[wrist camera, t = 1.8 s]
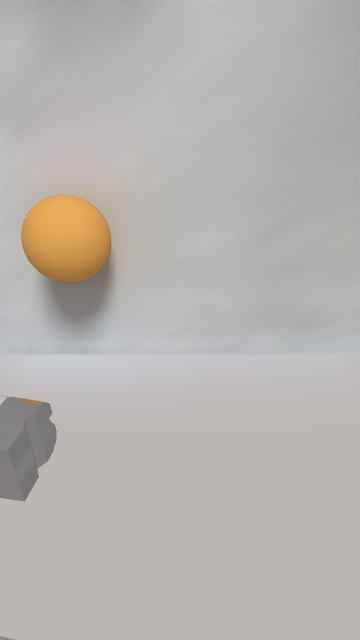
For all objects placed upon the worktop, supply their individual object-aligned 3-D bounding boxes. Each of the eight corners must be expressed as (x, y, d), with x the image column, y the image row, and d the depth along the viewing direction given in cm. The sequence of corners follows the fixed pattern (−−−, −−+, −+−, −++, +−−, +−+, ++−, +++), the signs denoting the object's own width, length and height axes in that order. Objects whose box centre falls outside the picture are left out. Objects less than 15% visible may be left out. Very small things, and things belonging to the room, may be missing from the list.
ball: (36, 236, 26) (-9, 264, 21) (63, 170, 23) (19, 184, 18) (101, 277, 27) (72, 312, 22) (134, 218, 24) (110, 244, 19)
